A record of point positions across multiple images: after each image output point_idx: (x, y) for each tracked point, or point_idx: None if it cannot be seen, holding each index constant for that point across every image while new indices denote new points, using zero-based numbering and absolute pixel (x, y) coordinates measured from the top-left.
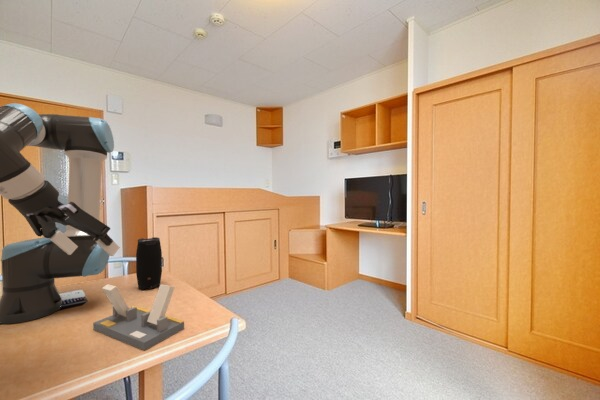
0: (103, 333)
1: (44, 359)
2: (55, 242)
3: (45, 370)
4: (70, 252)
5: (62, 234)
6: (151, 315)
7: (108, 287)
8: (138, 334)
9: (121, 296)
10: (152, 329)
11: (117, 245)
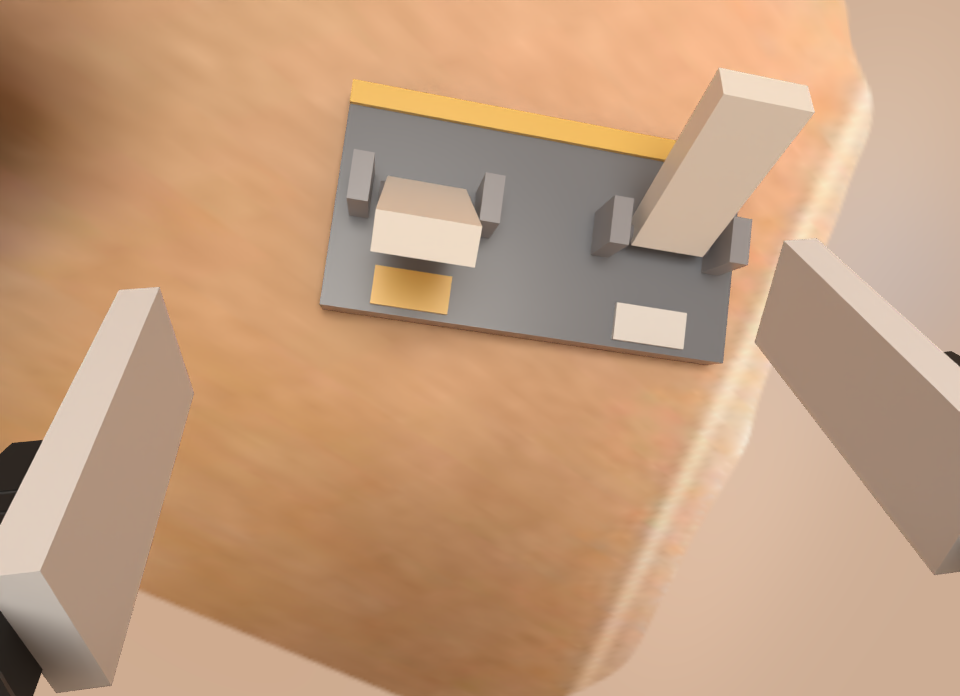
0: (412, 321)
1: (377, 555)
2: (128, 604)
3: (466, 598)
4: (182, 391)
5: (81, 519)
6: (659, 227)
7: (424, 240)
8: (653, 326)
9: (474, 211)
10: (663, 261)
11: (840, 262)
